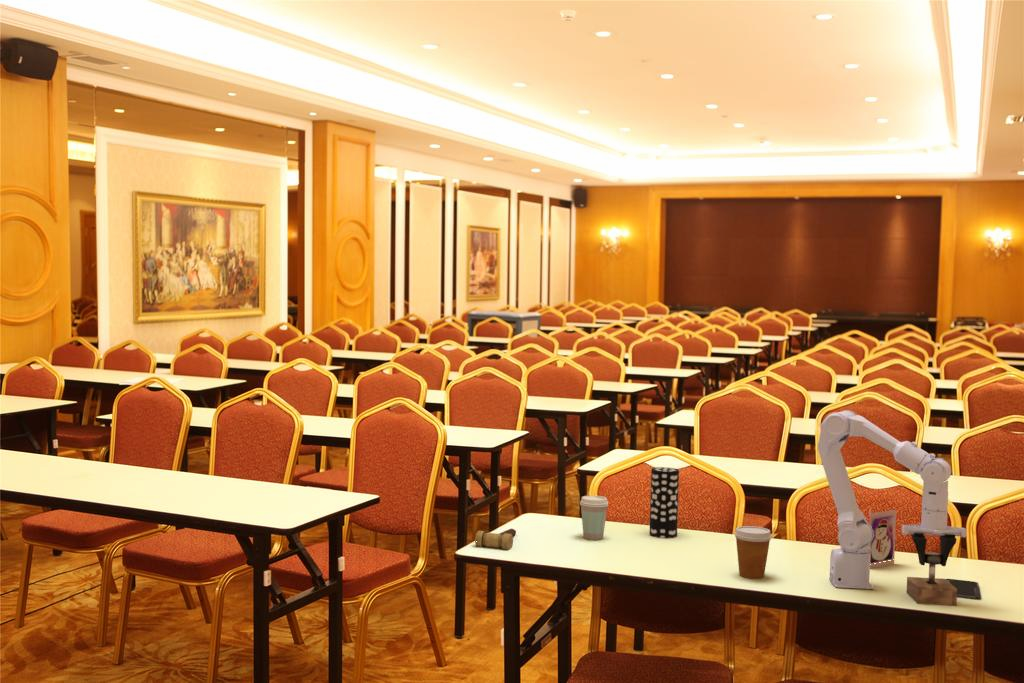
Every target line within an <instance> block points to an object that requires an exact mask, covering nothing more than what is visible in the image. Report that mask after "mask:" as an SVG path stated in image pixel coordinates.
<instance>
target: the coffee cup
mask: <svg viewBox="0 0 1024 683" xmlns="http://www.w3.org/2000/svg"><path fill="white" fill-rule="evenodd" d="M580 499H581V500H580V501H579V504H580V509H581V510H580V512H581V524H582V533H583V534H582V536H583V538H584V539H586V540H588V541H589V540H590V541H599V540H603V539H604V536H605V535H604V533H605V526H606V520H607V513H608V506H609V501H608V498H607V497H606V496H603V495H602V496H601V495H594V494H593V495H584V496H581V498H580Z"/></svg>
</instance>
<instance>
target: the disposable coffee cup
mask: <svg viewBox="0 0 1024 683" xmlns="http://www.w3.org/2000/svg"><path fill="white" fill-rule="evenodd" d="M733 533H734V534H733V535H734V536H735V540H736V541H735V542H736V551H737V562H738V574H739V576H740V577H743V578H747V579H762V578H764V576H765V572H766V567H767V565H766V564H767V562H768V561H767V560H768V555H769V550H770V548H769V547H770V542H771V540H772V537H773V536H772V534H771V530H770V529H768V528H766V527H762V526H753V525H752V526H751V525H745V526H744V525H743V526H738V527H736V528H735V532H733Z"/></svg>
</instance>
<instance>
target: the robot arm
mask: <svg viewBox="0 0 1024 683" xmlns="http://www.w3.org/2000/svg"><path fill="white" fill-rule="evenodd" d="M819 426H820V433H819V437H818V443H817V451H818V454H819V457H820V458H819V459H820V460H821V463H822V467H823V470H824V473H825V476H826V480H827V482H828V486H829V489H830V493H831V495H832V498H833V501H834V505H835V508H836V511H837V513H838V514H837V515H838V517H837V521H836V522H837V523H836V525H837V528H838V529H837V530H838V533H837V534H838V535H837V542H838V544H839V545H840V547H839V548H832V549H831V551H830V558H829V560H830V561H829V577H828V580H829V581H830V583H831V584H832V585H833V586H834V587H835V588H843V589H845V588H846V589H861V590H863V589H864V590H866V589H867V590H874V589H875V587H874V586H873V585H872V583H871V582H870V572H871V570H870V569H871V568H870V550H871V549H870V547H869V543H871V541H872V540H873V537H874V532H873V529H872V527H871V526H870V525H869V522H868V521H867V519H866V516H865V514H864V513H863V512H862V511H861V510H860V508H859V505H858V502H857V499H856V495H855V492H854V490H853V486H852V483H851V479H850V477H849V473H848V471H847V467H846V465H845V464H846V463H845V461H844V459H843V454H842V452H841V449H842V447H843V446H844V445H845V442H847V440H848V439H849V438H851V437H864V438H866V439H867V440H869V441H871V442H872V443H874V444H876V445H878V446H879V447H881V448H883V449H885V450H887V451H889V452H890V453H892V456H893V458H894V461H896V462H897V463H898V464H901V465H902V466H904V467H905V468H907V469H908V470H910V471H911V472H913V473H915V474H916V475H919V476H920V478H921V479H922V481H923V484H922V485H923V488H922V494H921V495H922V498H921V502H922V503H921V519H920V521H921V523H920V524H901V534H903V535H910V536H911V539H912V541H913V543H914V546H915V549H916V551H917V555H918V563H919V564H920V565H921V566H925V564H926V563H925V552H926V548H927V542H928V539H927V538H926V536H939V541H940V553H939V554H941V555H942V561H941V564H940V566H942V567H946V566H947V563H948V562H947V561H948V559H949V556H950V553H951V551H952V549H953V548H954V546H955V545H956V544H957V540H958V539H957V538H956V537H961V538H966V537H967V529H966V528H965V527H958V526H949V525H948V508H949V504H948V503H949V479H950V478H951V475H952V467H951V465H950V463H949V462H948V461H947V460H945V458H942V457H936V454H935V453H928V452H927V451H925V450H924V449H922V448H920V447H919V446H918V443H917V442H916V441H912V442H911V441H909V440H905V441H904V440H903V441H899V440H898V439H897V438H895V437H893V436H892V435H890V434H889V433H888V432H886V431H884V430H883V429H881V428H880V427H878V426H877V425H876V424H874V423H872V422H871V421H870V420H868V419H867V418H865V416H862V415H860V414H856V413H855V412H854V411H852V410H849V409H848V410H847V409H844V410H841V411H839V412H832V413H829V414H828V415H827V416H826V417H825V418H824V419H823V421H822V423H821V424H820V425H819Z"/></svg>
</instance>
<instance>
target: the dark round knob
mask: <svg viewBox="0 0 1024 683" xmlns="http://www.w3.org/2000/svg"><path fill="white" fill-rule="evenodd" d="M941 561H942V555H941V554H940V553H938V552H932V551H925V564H928V578H929V584H935V578H936V565H941Z"/></svg>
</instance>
